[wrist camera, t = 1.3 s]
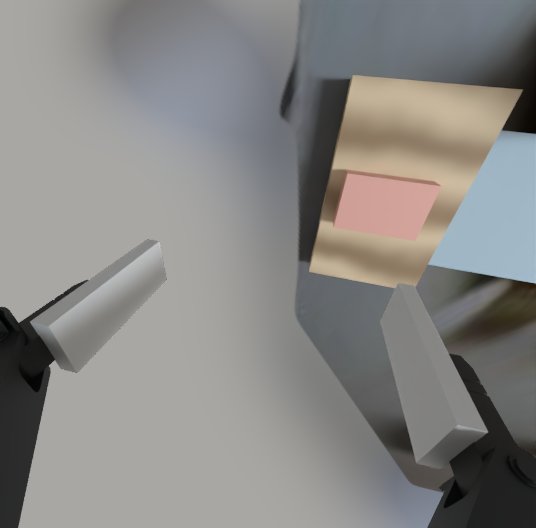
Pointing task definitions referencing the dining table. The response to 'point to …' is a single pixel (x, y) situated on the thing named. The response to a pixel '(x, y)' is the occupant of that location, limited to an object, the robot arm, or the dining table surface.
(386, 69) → the dining table surface
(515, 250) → the mat
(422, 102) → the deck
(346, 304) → the dining table surface
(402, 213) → the card
